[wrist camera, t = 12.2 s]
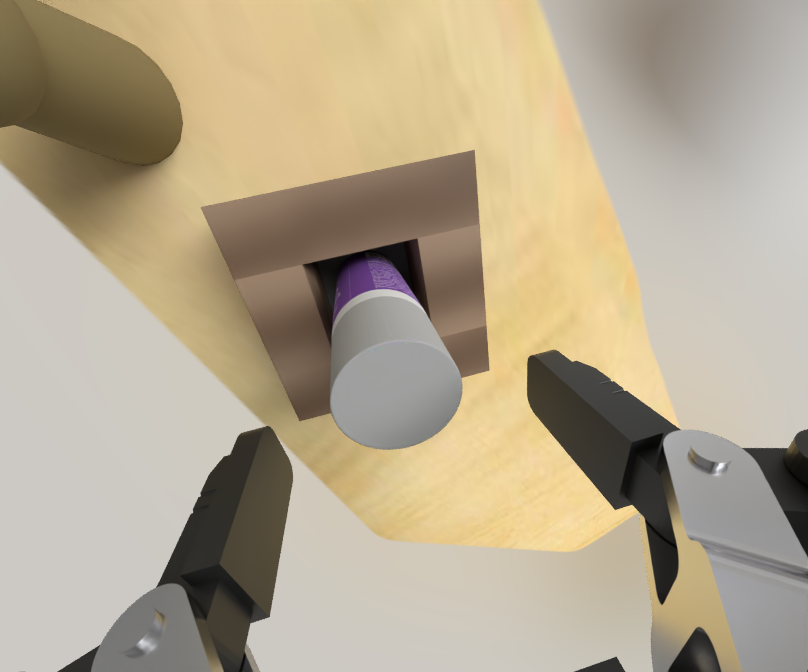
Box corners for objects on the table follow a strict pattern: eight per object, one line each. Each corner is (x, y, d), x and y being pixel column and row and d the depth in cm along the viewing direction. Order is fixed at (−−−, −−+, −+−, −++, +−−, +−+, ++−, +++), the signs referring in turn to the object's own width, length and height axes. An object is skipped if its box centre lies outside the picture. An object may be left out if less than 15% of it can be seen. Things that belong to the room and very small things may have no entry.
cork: (26, 88, 16) (-472, -75, 6) (98, -1, 15) (-351, -349, 5) (139, 187, 19) (-86, 183, 9) (205, 117, 18) (37, 28, 8)
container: (325, 265, 22) (296, 377, 9) (382, 238, 22) (439, 310, 9) (354, 318, 24) (365, 471, 11) (406, 293, 24) (482, 418, 11)
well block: (239, 203, 20) (200, 207, 15) (441, 160, 21) (474, 149, 16) (308, 374, 26) (299, 421, 21) (461, 335, 27) (489, 370, 22)
